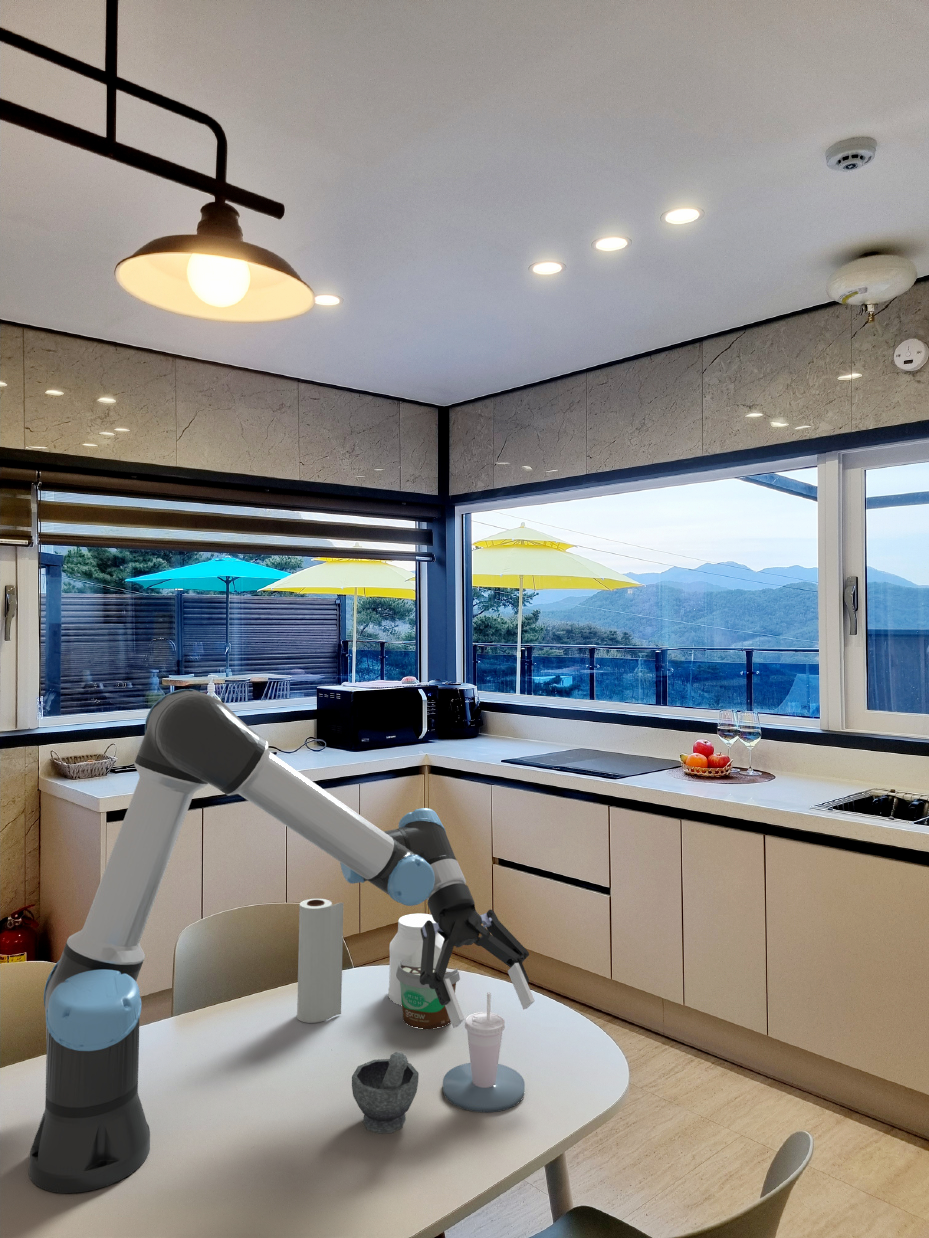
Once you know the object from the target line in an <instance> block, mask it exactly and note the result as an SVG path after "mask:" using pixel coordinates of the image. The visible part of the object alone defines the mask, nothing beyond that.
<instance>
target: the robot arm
mask: <svg viewBox="0 0 929 1238" xmlns="http://www.w3.org/2000/svg"><path fill="white" fill-rule="evenodd" d="M145 718H146V719H145V722H144V723H145V725H144V736H143V738H142V741H141V744H140V746H139V749H138V752H137V755H136V757H135V760H134V763H133V765H134V767H135V769H136V771H137V773H138V777H139V778H138V781H137V784H136V786H135V788H134V791H133V794H132V797H131V799H130V802H129V804H128V808H127V809H126V812H125V815H124V818H123V820H122V824H121V826H120V828H119V830H118V834H117V837H116V838H115V839H116V840H115V842H114V844H113V846H112V847H113V848H112V850H111V852H110V856H109V857H108V861H107V864H106V866H105V868H104V871H103V873H102V877H101V878H100V883H99V885H98V887H97V890H96V893H95V895H94V898H93V901H92V903H91V906H90V909H89V911H88V914H87V917H86V919H85V922H84V925H83V927H82V928H81V930H79V931H76V932H74V933H72V934H71V935H69V937H68V938H67V940H66V943H65V946H64V949H63V951H62V953H61V956H60V959H59V960H58V961H57V962H56V963H55V964H54V966H53V967H52V969H51V971H50V973H49V974H48V976H47V979H46V982H45V986H44V991H43V1005H44V1010H45V1030H46V1031H45V1032H46V1033H45V1035H46V1037H45V1038H46V1058H45V1059H46V1064H45V1065H46V1066H45V1103H44V1111H43V1114H42V1116H41V1117H42V1118H41V1120H40V1123H39V1126H38V1128H37V1131H36V1134H35V1137H34V1140H33V1142H32V1145H31V1148H30V1151H29V1157H28V1158H29V1159H28V1161H29V1163H28V1175H29V1178H30V1180H31V1181H32V1183H33V1184H34V1185H36V1186H37V1187H38V1188H41V1189H42V1190H45V1191H48V1192H52V1193H53V1192H54V1193H59V1194H60V1193H62V1194H73V1193H76V1194H77V1193H82V1192H83V1193H85V1192H90V1191H94V1190H98V1189H102V1188H106V1187H107V1186H111V1185H112V1184H114V1183H117V1182H119V1181H121V1180H123V1179H124V1178H127V1177H128V1176H130V1175H131V1174H133V1173H134V1172H135V1171H137V1169H139V1168H140V1166H142V1165H143V1163H145V1161H146V1160H147V1158H148V1156H149V1154H150V1151H151V1149H150V1148H151V1129H150V1126H149V1123H148V1122H147V1118H146V1114H145V1111H144V1109H143V1105H142V1102H141V1099H140V1096H139V1064H140V1063H139V1060H140V1057H139V1055H140V1054H139V1051H140V1018H141V1013H142V998H141V996H140V995H141V994H140V987H139V984H138V983H137V980H138V978H139V975H140V972H141V969H142V966H143V964H144V961H145V957H146V955H145V952H144V950H143V948H142V946H141V943H140V942H141V939H142V937H143V934H144V931H145V929H146V925H147V922H148V920H149V918H150V915H151V912H152V909H153V907H154V903H155V901H156V897H157V895H158V893H159V890H160V887H161V885H162V883H163V880H164V877H165V873H166V872H167V868H168V865H169V863H170V860H171V857H172V855H173V852H174V849H175V846H176V844H177V842H178V841H177V840H178V838H179V835H180V832H181V829H182V827H183V825H184V822H185V820H186V817H187V813H188V811H189V808H190V805H191V803H192V799H193V797H194V794H195V793H197V792H198V791H199V790H202V789H204V788H205V787H207V786H208V785H211V786H212V787H214V788H216V789H217V790H219V791H220V792H222V793H223V794H225V795H226V796H234V795H239V796H241V797H242V798H244V799H245V800H246V801H248V802H249V803H251V804H253V805H254V806H256V807H258V808H259V810H260V809H261V810H262V811H263V812H265V813H267V814H268V815H269V816H270V817H272V818H274V819H275V820H276V821H278V822H280V823H281V824H282V825H285V827H287V828H288V829H290V830H291V831H293V832H295V833H296V834H298V835H299V836H300V837H302V838H303V839H305V840H306V841H308V842H309V843H311V844H313V845H314V846H316V847H317V848H318V849H320V850H321V851H323V852H324V853H326V854H328V855H329V856H331V857H332V858H333V859H335V860H337V862H339V863H340V869H341V873H342V875H343V878H344V879H345V881H346V882H348V883H349V884H359V883H362V884H363V883H365V882H368V883H370V884H372V885H373V886H375V887H376V888H378V889H379V890H381V891H382V892H384V893H385V894H386V895H388V896H389V897H390V898H391V899H392V900H393V901H395V902H397V903H400V904H401V905H403V906H407V907H412V906H417V905H420V904H422V903H424V902H425V901H427V907H428V909H429V911H430V915H432V918H433V920H434V921H435V922H436V923H432V922H431V921H430V920H428V921H427V922H426V923H425V924H424V925H423V927H422V928H421V935H422V939H423V947H422V958H421V970H420V983H421V984H422V985H426V984H429V987H430V988H431V989H435V992H436V994H437V997H438V1000H439V1003H440V1004H441V1005H442V1006H443V1005H445V1007H446V1010H447V1012H448V1015H449V1018H450V1021H451V1022H450V1024H451V1026H452V1028H453V1029H454V1028H458V1027H459V1026H460V1025H461V1024H462V1023H463V1021H464V1020H465V1017H464V1014H463V1011H462V1009H461V1006H460V1003H459V1000H458V998H457V994H456V991H455V992H454V990H453V987H452V984H451V982H450V979H449V978H448V979H445V980H443V978H444V975H445V972H447V969H448V966H449V964H450V963H449V962H450V959H451V956H452V954H453V950H454V947H456V949H457V948H461V947H463V946H471V945H473V944H474V945H476V946H478V947H481V948H484V949H485V950H486V952H488V953H490V954H491V955H493V956H494V957H495V958H496V959H498V960H500V961H501V962H502V963H503V964H505V965H507V966H508V967H509V969H508V970H507V973H508V976H509V978H510V980H511V983H512V985H513V987H514V990H515V992H516V995H517V997H518V1001H519V1002H520V1005H521V1007H522V1009H523V1010H527V1009H528V1008H529V1007H530V1006H532V1005H533V1003H534V1002H535V997H534V996H533V993H532V991H531V989H530V987H529V986H530V985H528V983H529V982H530V979H529V976H528V974H527V971H526V968H525V967H524V961H525V960H526V959H527V958H528V957H529V955H530V953H529V950H528V949H526V947H525V946H523V944H522V943H521V942H520V941H519V940H518V939H517V938H516V937H515V936H514V935H513V934H512V933H511V932H510V931H509V929H508V928H507V927H505V926H504V924H503V923H502V922H501V921H500V920H499V918H498V916H497V915H496V913H495V911H494V910H493V909H488V911H486V912H485V913H483V914H479V912H478V911H477V910H476V905H475V903H476V902H475V899H474V898H473V895H472V893H471V890H470V888H469V886H468V885H467V884H466V882H467V879H466V878H465V875H464V873H463V871H462V868H461V867H460V864H459V862H458V859H457V857H456V855H455V853H454V850H453V848H452V846H451V843H450V840H449V838H448V835H447V831H446V828H445V827H444V825H443V823H442V821H441V819H440V817H439V816H438V814H437V812H436V811H435V810H434V809H432V808H429V807H422V808H417V809H414V810H413V811H411V812H407V813H406V814H405V815H403V816H402V817H401V819H400V820H399V822H398V828H394V829H389V830H385V831H384V830H382V829H381V828H379V827H377V826H376V825H375V824H373V823H372V822H370V820H367V819H366V818H365V817H363V816H362V815H360V813H358V812H356V811H355V810H354V809H352V807H351V808H350V807H349V806H348V805H347V804H345V803H343V802H342V801H340V800H339V798H337V797H335V796H333V794H332V793H329V792H328V791H327V790H326V789H324V788H322V787H321V786H319V785H318V784H317V783H316V782H314V781H313V780H311V779H310V778H309V777H307V776H305V775H304V773H303V774H302V773H301V772H299V770H297V769H295V768H294V767H292V766H291V765H289V764H288V763H287V762H286V761H284V760H283V759H282V758H280V757H278V756H277V755H276V754H274V753H273V752H271V751H270V749H269V741H268V740H266V739H265V738H264V737H262V736H261V735H259V734H258V733H257V732H256V731H254V729H252V728H251V727H249V726H248V725H247V723H245V722H244V721H243V720H242V719H240V718H239V717H238V716H237V715H236V714H235V712H233V710H231V709H230V707H228V706H227V705H226V704H225V703H224V702H222V701H221V700H220V699H218V698H215V697H214V696H211V694H207V693H205V692H203V691H201V690H196V689H192V688H189V689H188V688H187V689H185V688H184V689H178V690H174V691H171V692H169V693H167V694H165V695H163V696H162V697H160V698H159V699H158V700H157V701H156V702H155V703H154V704H153V705H152V707H150V710H149V711H148V713H147V715H146V717H145ZM437 932H438V933H439V934H440V935H441V936H442V937H443V938H444V942H443V945H442V948H441V949H442V950H441V953H440V956H439V959H438V962H437V965H436V968H435V971H434V973H433V964H434V950H435V935H436V934H437ZM480 935H481V936H480Z"/></svg>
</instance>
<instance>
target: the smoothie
mask: <svg viewBox="0 0 929 1238" xmlns="http://www.w3.org/2000/svg"><path fill="white" fill-rule="evenodd" d="M491 996H492V995H491V992H487V994H486V1011H479V1012H475V1013H471V1014H469V1015H468V1016H467V1017H466V1018H465V1019H464V1020H465V1021H464V1028H465V1030H466V1033H467V1042H468V1050H469V1051H468V1053H469V1063H471V1073H472V1082H473V1084H474V1085H475V1086H478V1087H482V1088H487V1087H491V1086H493V1085H494V1084H495V1082H496V1075H497V1068H498V1064H499V1061H500V1060H499V1059H500V1052H501V1045H502V1038H503V1032H504V1030H506V1029H505V1027H506V1026H505V1023H506V1022H505V1019H504V1017H503V1016H501V1015H499V1014H496V1013H494V1012H491V1002H492V1001H491V999H492V997H491Z"/></svg>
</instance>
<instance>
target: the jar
mask: <svg viewBox="0 0 929 1238" xmlns="http://www.w3.org/2000/svg"><path fill="white" fill-rule="evenodd" d="M428 920H430V921H431V922H432V923H436V922H435V921H434V920H433V918H432V915H431V914H430V913H429V914H428V913H410V914H406V915H402V916H401V917H399V919H398V921H397V922H398V923H397V925H398V926H397V932H396V934H395V935H394V937H393V938H392V939H391V941H390V942H389V946H388V947H389V972H388V973H389V976H388V977H389V982H388V994H387V995H388V998H390V999H389V1000H390V1001H391V1000H392V1001H393V1002H392V1001H391V1002H392V1003H393V1004H395V1003H396V1004H395V1005H397V1004H399V1005H398V1006H400V1005H402V1000H401V987H400V981H399V980H398V979H397V977H396V973H397V968H398V965H399V963H400V961H402V965H403V966H410V967H421V958H422V947H423V939H422V935H421V928H422V927H423V925H424V924H425V923H426V922H427V921H428ZM444 939H445V938H443V937H442V936H441V935H440V934H439V933H438V932H437V934H436V935H435V950H434V964H433V968H434V969H435V968H436V965H437V962H438V959H439V956H440V953H441V950H442V949H441V948H442V945H443V942H444Z"/></svg>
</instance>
